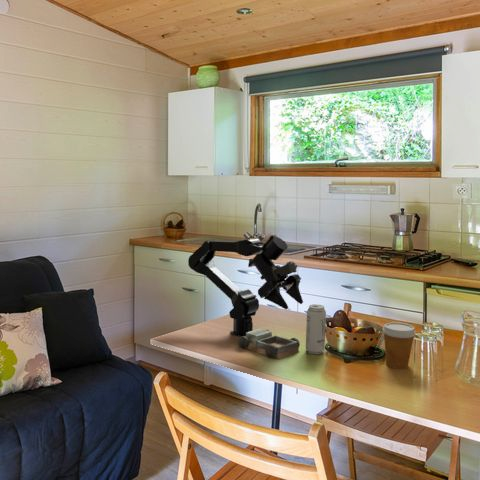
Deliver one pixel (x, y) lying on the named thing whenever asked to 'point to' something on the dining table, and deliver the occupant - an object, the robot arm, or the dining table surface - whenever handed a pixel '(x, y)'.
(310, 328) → the energy drink can
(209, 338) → the dining table surface
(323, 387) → the dining table surface
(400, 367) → the disposable coffee cup
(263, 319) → the dining table surface
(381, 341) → the frog figurine
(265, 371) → the dining table surface
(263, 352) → the chassis
